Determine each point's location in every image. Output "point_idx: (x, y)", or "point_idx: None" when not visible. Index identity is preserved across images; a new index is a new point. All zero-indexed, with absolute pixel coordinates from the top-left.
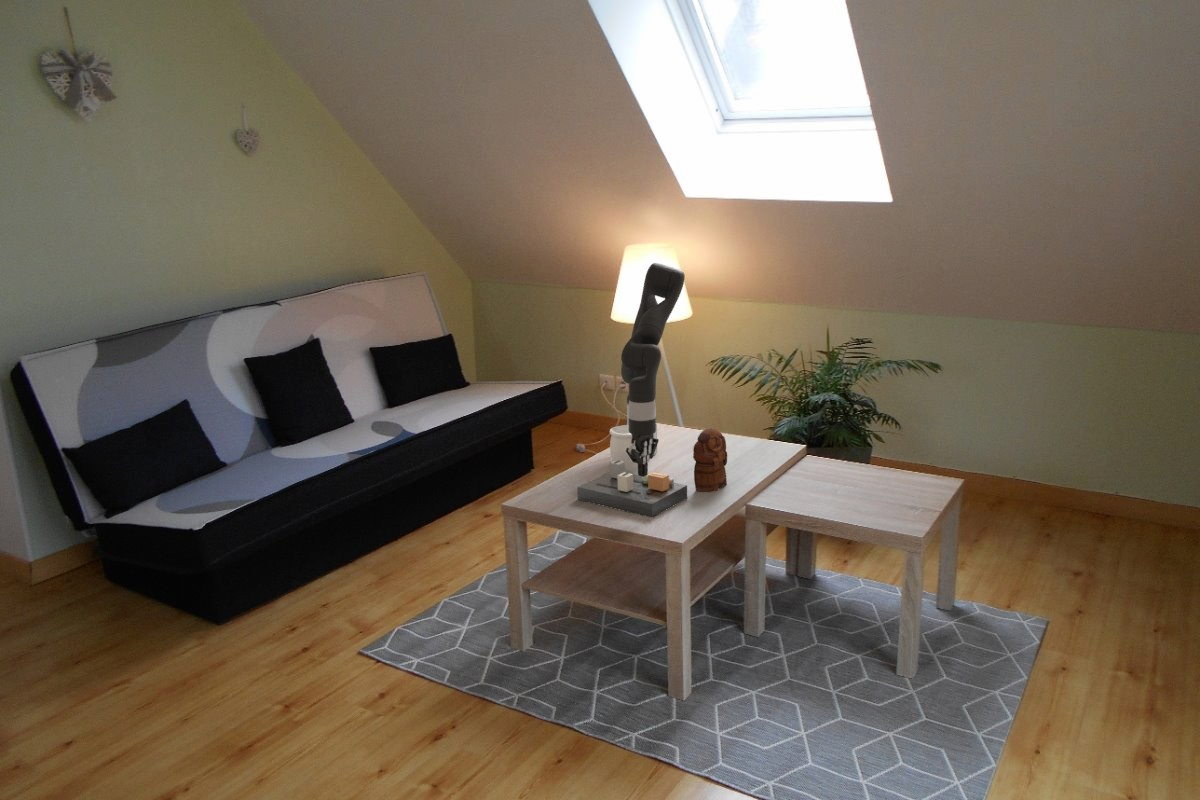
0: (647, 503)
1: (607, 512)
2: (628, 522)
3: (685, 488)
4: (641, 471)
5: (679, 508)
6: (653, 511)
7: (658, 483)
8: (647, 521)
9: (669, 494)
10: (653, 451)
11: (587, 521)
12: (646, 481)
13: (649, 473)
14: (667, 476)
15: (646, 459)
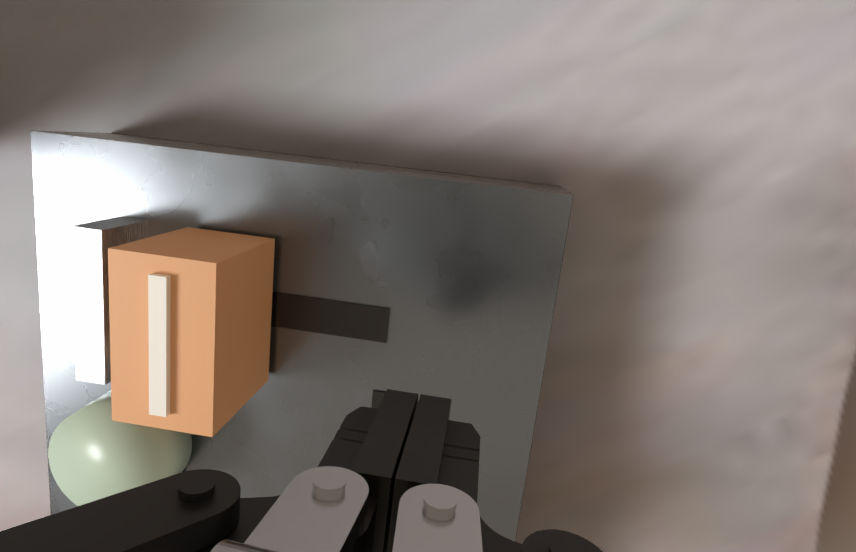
0: (563, 243)
1: (591, 500)
2: (715, 298)
3: (70, 133)
4: (477, 460)
5: (304, 90)
6: (547, 187)
7: (246, 299)
8: (643, 184)
9: (294, 164)
10: (73, 538)
11: (798, 547)
12: (179, 443)
13: (66, 478)
14: (136, 249)
15: (356, 521)
